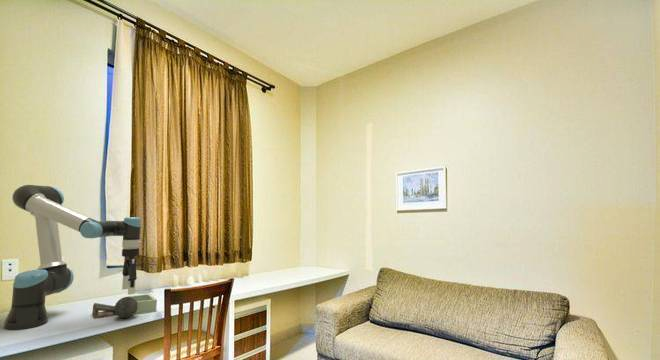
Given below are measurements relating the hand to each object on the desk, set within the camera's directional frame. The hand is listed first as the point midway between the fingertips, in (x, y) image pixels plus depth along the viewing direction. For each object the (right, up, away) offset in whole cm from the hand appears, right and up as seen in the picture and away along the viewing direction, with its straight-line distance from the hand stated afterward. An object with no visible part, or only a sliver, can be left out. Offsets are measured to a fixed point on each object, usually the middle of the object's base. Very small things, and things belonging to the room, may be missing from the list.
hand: (128, 291), depth 173 cm
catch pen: (-1, -14, +13) cm, 19 cm away
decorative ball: (-1, -13, -1) cm, 13 cm away
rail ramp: (-13, -13, +3) cm, 18 cm away
